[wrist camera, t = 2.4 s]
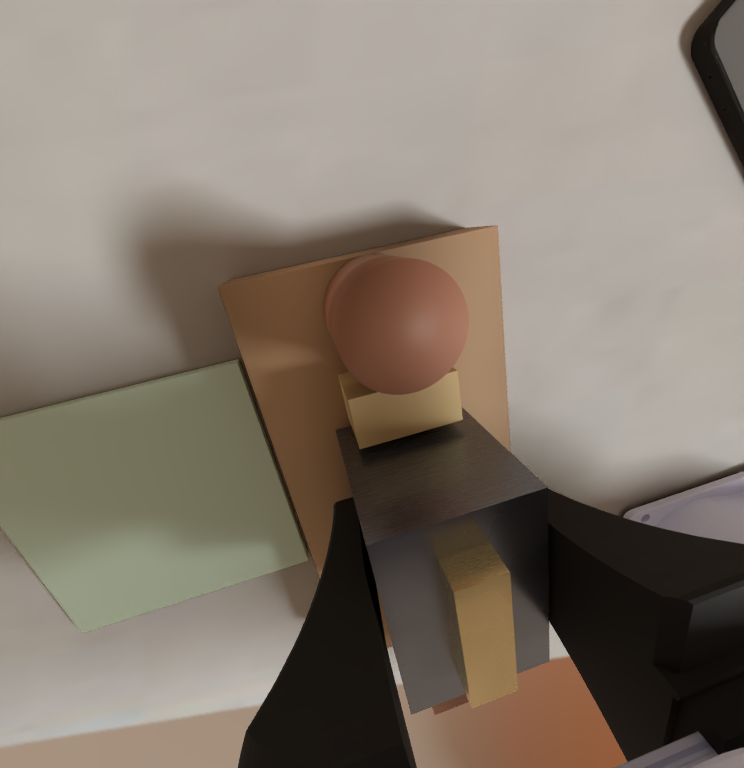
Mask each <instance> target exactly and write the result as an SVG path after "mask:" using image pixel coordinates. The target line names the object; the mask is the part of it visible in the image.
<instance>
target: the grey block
mask: <svg viewBox="0 0 744 768" xmlns="http://www.w3.org/2000/svg"><path fill="white" fill-rule="evenodd" d="M461 407H462V406H461ZM462 416H463V420H460V421H457V422H453V423H450V424H446V425H443V426H439V427H436V428H432V429H429V430H425V431H422V432H419V433H415V434H412V435H408V436H405V437H401V438H398V439H394V440H391V441H387V442H384V443H380V444H377V445H373V446H370V447H367V448H363V449H360V448H359V446H358V443H357V440H356V437H355V434H354V432H353V429H352V426H347V427H344V428H340V429H337V430H336V434H337V438H338V441H339V445H340V449H341V453H342V457H343V460H344V464H345V468H346V472H347V476H348V479H349V483H350V487H351V491H352V495H353V498H354V502H355V506H356V510H357V514H358V517H359V521H360V525H361V529H362V533H363V536H364V540H365V544H366V548H367V551H368V555H369V559H370V563H371V566H372V570H373V574H374V578H375V581H376V585H377V589H378V592H379V596H380V600H381V604H382V607H383V611H384V615H385V618H386V622H387V626H388V630H389V633H390V637H391V641H392V644H393V648H394V652H395V656H396V659H397V663H398V667H399V671H400V674H401V678H402V682H403V685H404V689H405V692H406V696H407V700H408V704H409V708H410V711H411V714H414V713H417V712H419V711H422V710H425V709H427V708H430V707H432V706H435V705H438V704H440V703H443V702H445V701H448V700H451V699H453V698H456V697H458V696H461V695H464V694H466V696H467V698H468V701H469V703H470V705H471V708H474V707H477V706H479V705H482V704H485V703H487V702H490V701H492V700H495V699H497V698H500V697H502V696H505V695H507V694H510V693H513V692H515V691H517V690H518V682H517V674H518V673H520V672H523V671H526V670H528V669H531V668H533V667H536V666H539V665H541V664H544V663H546V662H549V572H548V487H547V486H546V485H544V484H543V483H542V482H541V481H540V480H539V479H538V478H537V477H536V476H535V475H534V474H533V473H532V472H531V471H530V470H529V469H527V468H526V467H525V466H524V465H523V464H522V463H521V462H520V461H519V460H518V459H517V458H516V457H515V456H514V455H513V454H512V453H510V452H509V451H508V450H507V449H506V448H505V447H504V446H503V445H502V444H501V443H500V442H499V441H498V440H497V439H496V438H494V437H493V436H492V435H491V434H490V433H489V432H488V431H487V430H486V429H485V428H484V427H483V426H482V425H481V424H480V423H479V422H477V421H476V420H475V419H474V418H473V417H472V416H471V415H470V414H469V413H468V412H467V411H466V410H465V409H464V408H463V407H462Z"/></svg>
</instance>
